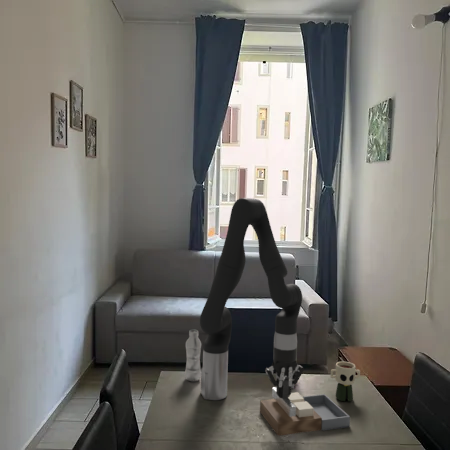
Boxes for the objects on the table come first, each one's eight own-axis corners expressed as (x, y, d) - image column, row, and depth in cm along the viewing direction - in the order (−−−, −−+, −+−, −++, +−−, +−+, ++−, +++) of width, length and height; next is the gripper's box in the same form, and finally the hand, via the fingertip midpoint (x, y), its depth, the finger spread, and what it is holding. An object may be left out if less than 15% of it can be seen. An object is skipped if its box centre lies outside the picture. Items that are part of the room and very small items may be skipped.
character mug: (332, 403, 165) (333, 368, 164) (327, 394, 172) (328, 361, 171) (361, 403, 165) (363, 368, 164) (355, 395, 172) (357, 361, 171)
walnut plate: (277, 435, 142) (278, 423, 142) (259, 411, 157) (260, 400, 157) (321, 429, 146) (321, 417, 146) (299, 407, 161) (300, 396, 161)
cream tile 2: (299, 417, 146) (299, 409, 146) (292, 410, 150) (292, 402, 150) (313, 415, 147) (313, 408, 147) (306, 408, 152) (306, 401, 152)
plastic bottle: (188, 384, 178) (189, 334, 176) (182, 378, 184) (183, 329, 182) (203, 381, 181) (204, 332, 179) (196, 375, 187) (197, 327, 185)
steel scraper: (289, 416, 143) (290, 388, 142) (272, 395, 157) (272, 370, 157) (295, 416, 143) (296, 388, 143) (277, 395, 158) (278, 370, 157)
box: (322, 430, 146) (322, 420, 145) (299, 406, 162) (299, 396, 162) (349, 427, 148) (350, 416, 148) (324, 403, 165) (324, 394, 164)
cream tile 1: (290, 407, 152) (290, 400, 152) (284, 400, 157) (284, 393, 157) (303, 405, 154) (303, 398, 154) (297, 399, 159) (297, 392, 158)
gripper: (299, 340, 154) (297, 389, 156) (261, 342, 151) (259, 393, 152) (309, 347, 147) (307, 399, 148) (269, 350, 143) (268, 403, 145)
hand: (283, 396), depth 150 cm, fingers closed on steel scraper, 2 cm apart
